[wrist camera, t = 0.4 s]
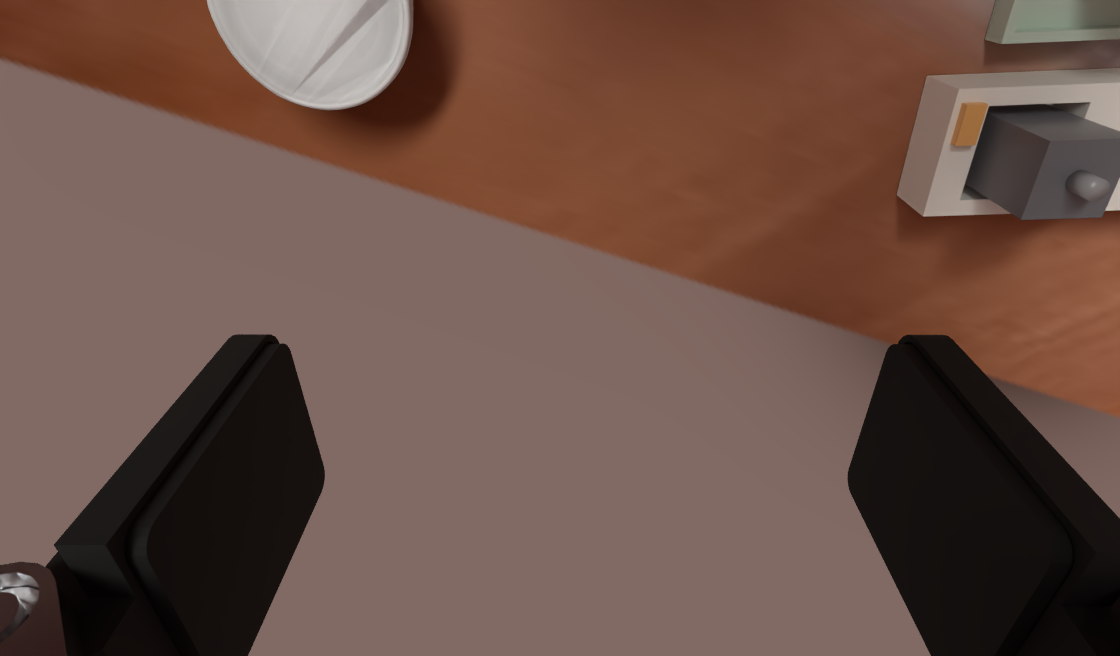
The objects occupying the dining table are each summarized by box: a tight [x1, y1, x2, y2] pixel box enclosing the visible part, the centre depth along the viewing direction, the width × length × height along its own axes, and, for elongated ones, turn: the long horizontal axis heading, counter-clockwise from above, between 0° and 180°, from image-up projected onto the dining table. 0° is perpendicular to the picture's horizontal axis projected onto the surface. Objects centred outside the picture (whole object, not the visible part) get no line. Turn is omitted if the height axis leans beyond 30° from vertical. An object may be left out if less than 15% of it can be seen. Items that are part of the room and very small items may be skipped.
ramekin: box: [207, 0, 414, 110], centre depth 36 cm, size 11×11×5 cm
